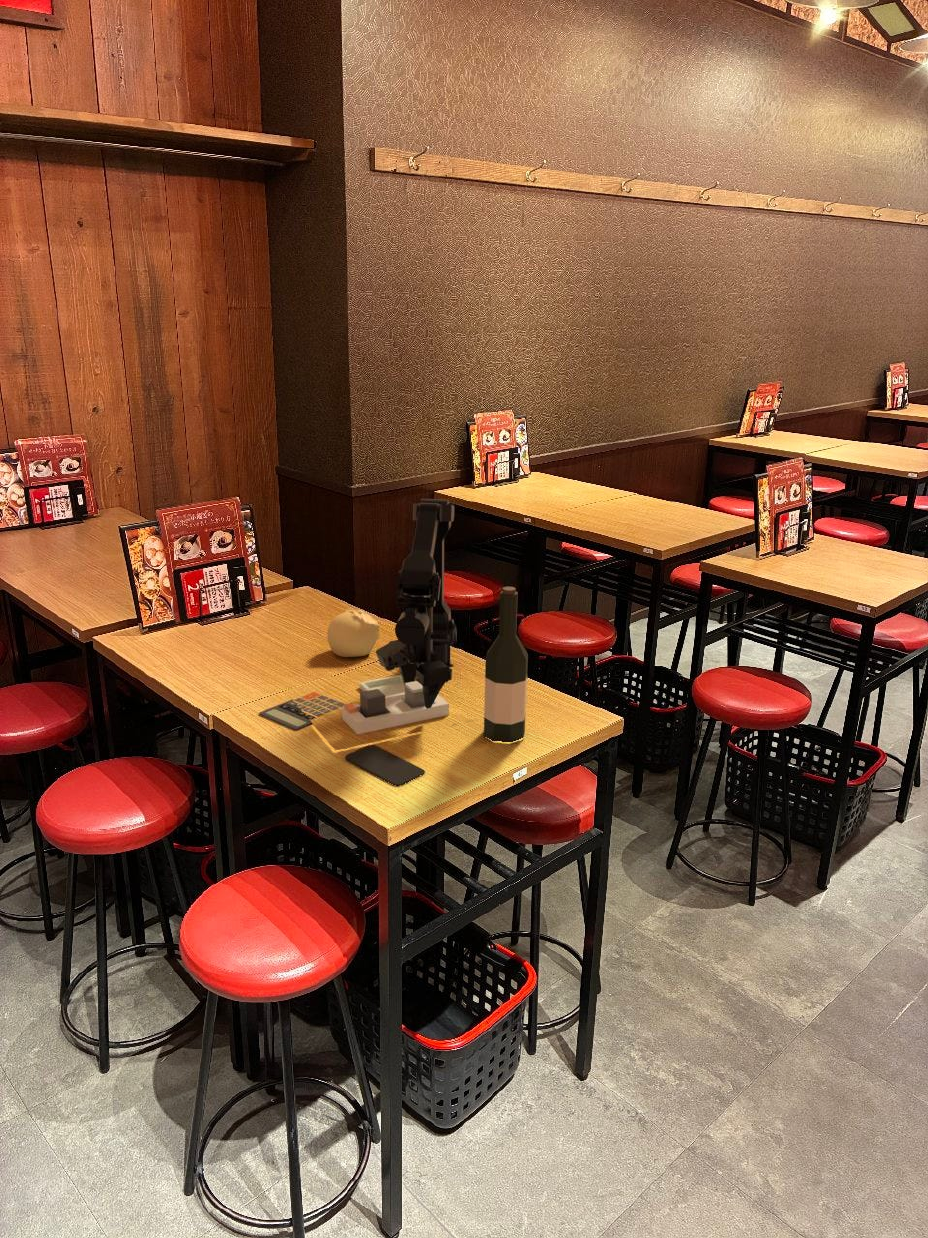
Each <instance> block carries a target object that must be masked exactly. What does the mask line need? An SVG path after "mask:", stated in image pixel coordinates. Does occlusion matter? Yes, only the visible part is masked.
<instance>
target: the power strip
mask: <svg viewBox="0 0 928 1238" xmlns="http://www.w3.org/2000/svg"><path fill="white" fill-rule="evenodd" d="M359 701H360V703H356V704H353V702H349V703H344V706H342V707H341V713H342V714H341V715H342V717H341V718H342V720H343V721H344V722H345V723H346V724H347V726H349V728H350V729H352V731H353V732H354V733H355V734H356V735H357V736H358V735H362V734H367V733H372V732H377V731H382V730H387V729H391V728H395V727H399V726H404V725H408V724H409V725H410V724H413V723H414V724H415V723H419V722H423V721H428V720H431V719H436V718H442V717H446V716H450V702H448V701H447V700H445V699H444V698H443V697H442V696H441V695H439V694H438V695H437V697H436V699H435V701H434V703H433V705H432V707H431V708H426V707H425V706H421V707H416V708H411V707H410V706H408V705H407V704H406V703H405V695H401V696H396V697H391V698H386V699H385V695H384V694H383V693H382V692H381V691H380V690H378V689H374V690H369V691H360V692H359Z"/></svg>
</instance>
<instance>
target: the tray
mask: <svg viewBox="0 0 928 1238" xmlns="http://www.w3.org/2000/svg"><path fill="white" fill-rule="evenodd" d="M358 683H359V685H358V686H359V687H358V688H359V689H360V690H362V691H361V692H364V691H369V690H374V689H378V690H380V691H381V692H382V693H383V694H384V695H385V699H386V698H391V697H396V696H401V695H405V686H404V683H403V680H402V676H401V674H397V675H392V676H387V677H386V676H385V677H381V678H377V679H376V678H375V679H371V680H365V681H361V682H358Z"/></svg>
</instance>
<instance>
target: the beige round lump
mask: <svg viewBox="0 0 928 1238" xmlns="http://www.w3.org/2000/svg"><path fill="white" fill-rule="evenodd" d="M326 636H327V642H328V644H329V647H330V649H331V650H332V652H333V653H334V654H335V655H337V656H338V657H344V658H348V657H349V658H355V657H356V658H357V657H364V656H365V657H366V656H367V655H369V654H370V653H371V652H372V651H373V649H374V647H375V645H376V643H377V641H378V640H379V637H380V624H379V623H378V621H377V620H376V619H374V618H373V617H372V615H370V614H368V613H367V612H365V610H364V609H345V610H344V612H342V613H340V614H337V616H335V617H334V618H333V619H332V620H331V621H330V623H329V625H328V628H327V635H326Z"/></svg>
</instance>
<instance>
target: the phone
mask: <svg viewBox="0 0 928 1238" xmlns="http://www.w3.org/2000/svg"><path fill="white" fill-rule="evenodd" d="M344 760H345V762H348V763H350V765H351V764H352V765H354V766H355V767H357V768H359V769H361V770H362V769H363V771H365V772H367V773H369V774H370V773H371V775H372V774H373V776H374V775H375V776H374V777H376V776H377V777H376V778H378V777H379V778H378V779H380V780H382V781H384V780H385V781H384V782H385V783H388V782H389V783H388V784H390V783H391V784H390V785H392V784H393V785H392V786H394V785H396V786H395V787H401V786H400V785H402V786H404V785H406V784H408V782H409V781H411V780H413V779H415V778H417V777H419V776H420V775H423V774H424V773H425V774H426V770H424V768H421V767H419V766H417V765H416V764H413V763H412V762H409V761H408V760H406V759H404V758H402V757H399V756H398V755H396V754H394V753H392V752H390V751H388V750H387V749H384V748H382V747H380V746H378V745H377V744H376V745H375V744H368V745H366V746H363V747H360V748H358V749H357V750H354V751H352V752H350V753H347V754H345V757H344ZM425 774H424V775H425ZM424 775H423V776H424ZM419 778H420V777H419ZM417 779H418V778H417ZM415 780H416V779H415ZM413 781H414V780H413ZM411 782H412V781H411ZM405 783H406V784H405ZM409 783H410V782H409ZM403 784H404V785H403Z"/></svg>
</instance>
